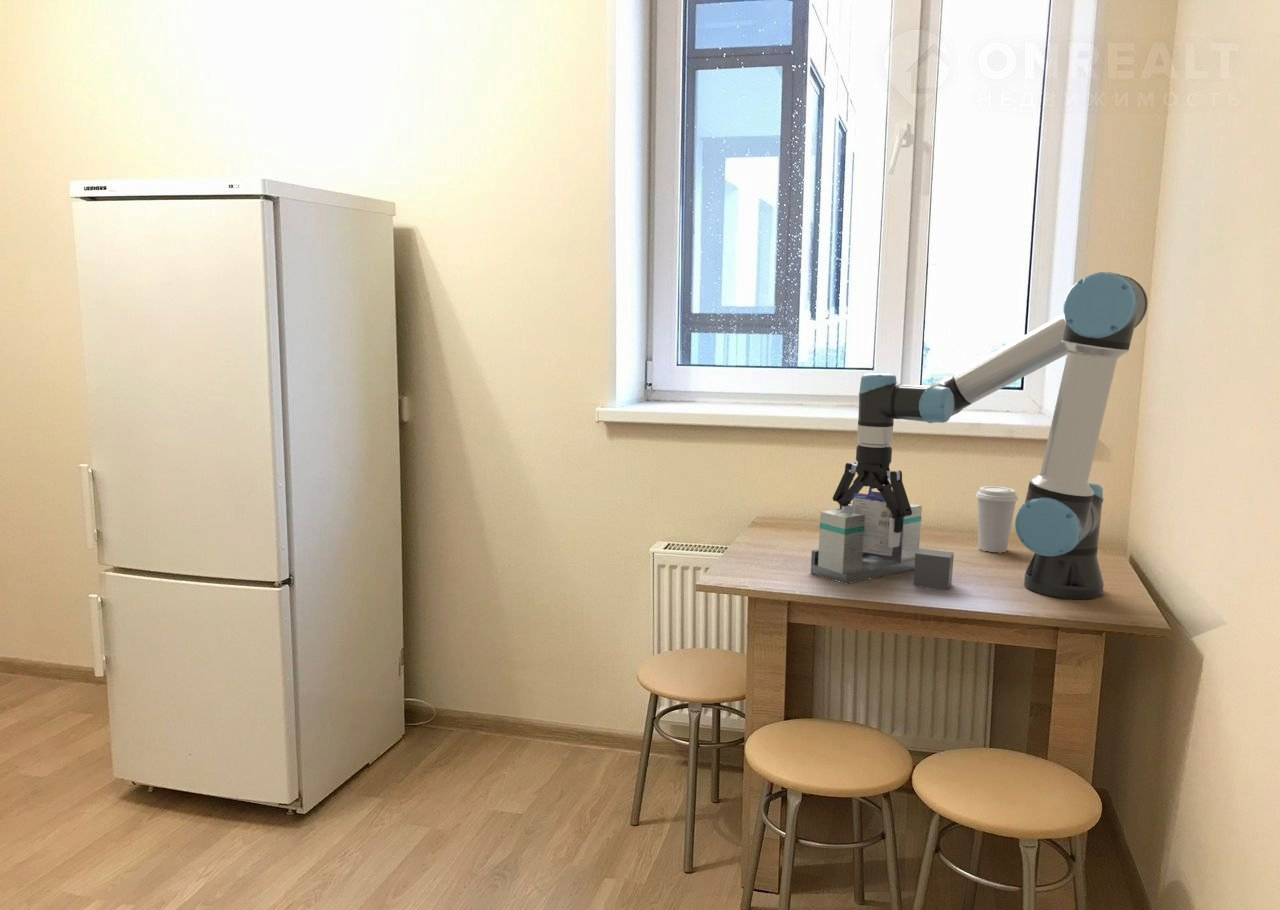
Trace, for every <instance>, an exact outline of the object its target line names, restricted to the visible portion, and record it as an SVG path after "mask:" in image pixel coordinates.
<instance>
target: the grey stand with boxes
mask: <svg viewBox="0 0 1280 910" xmlns="http://www.w3.org/2000/svg"><path fill="white" fill-rule="evenodd" d="M909 504H910V507H911V510H912V515H910V516H905V517H904V518H903V530H902V532H900V540H899V546H898V547H893V552H892V556H886V555H878V554H872V553H865V552H863V539H864V527H865V526H864V521H865V515H864V514H860V513H856V512H851V511H847V510H843V509H840V508H837V509H831V510H830V509H829V510H823V511H820V517H819V536H818V537H819V539H818V549H813V550H811V556H810V557H811V560H810V561H811V562H810V574H812V573H814V574H813V575H816V574H818V575H817V576H819V575H821V576H820V577H822V576H824V577H823V578H825V577H827V578H826V579H828V578H830V579H829V580H831V579H834V580H837V581H840V582H839V583H841V582H843V583H842V584H844V583H848V584H851V583H850V582H853V583H856V582H855V581H857V582H860V581H859V580H862V581H865V580H864V579H866V580H869V578H871V579H875V578H879V576H880V577H884V576H889V575H892V574H897V573H903V572H905V571H906V572H907V571H912V570H914V568H915V553H916V552H917V551H918V550H919V549H920V542H921V541H920V539H921V538H920V537H921V524H922V518H923V517H922V510H923V505H920V504H917V503H912V502H909ZM888 574H889V575H888ZM883 575H884V576H883ZM874 577H875V578H874ZM834 580H833V581H834ZM837 581H836V582H837Z"/></svg>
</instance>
